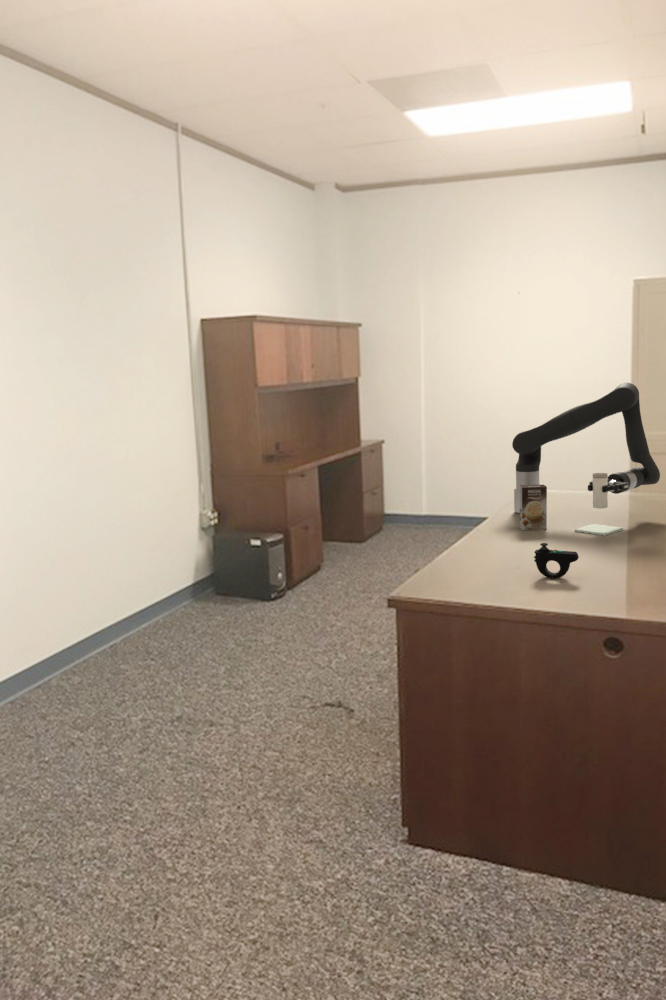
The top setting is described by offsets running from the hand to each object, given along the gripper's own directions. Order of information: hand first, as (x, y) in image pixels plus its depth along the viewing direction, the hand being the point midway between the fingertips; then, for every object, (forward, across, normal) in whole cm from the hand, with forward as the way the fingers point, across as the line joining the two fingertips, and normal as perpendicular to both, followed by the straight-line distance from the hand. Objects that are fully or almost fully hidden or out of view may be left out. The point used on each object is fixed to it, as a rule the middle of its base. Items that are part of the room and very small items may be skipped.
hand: (595, 488), depth 281 cm
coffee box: (+8, +21, -16) cm, 28 cm away
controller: (+59, -24, -16) cm, 65 cm away
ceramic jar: (-3, 0, -7) cm, 8 cm away
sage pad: (-2, 0, -16) cm, 16 cm away
